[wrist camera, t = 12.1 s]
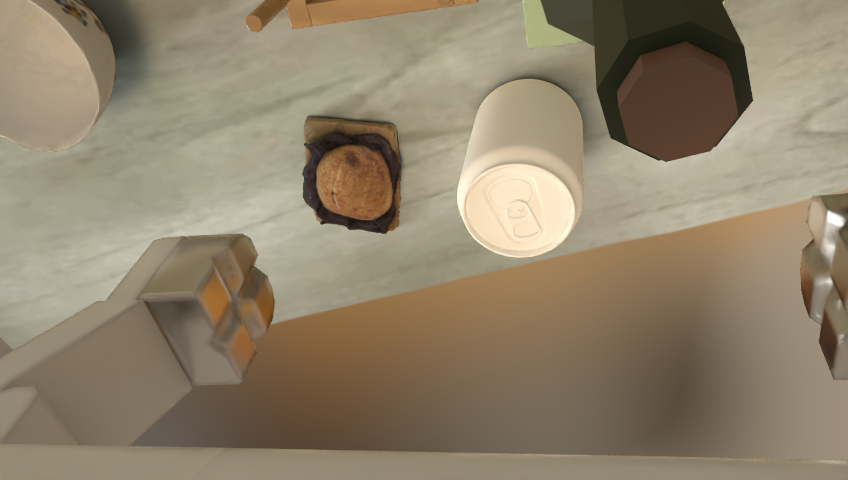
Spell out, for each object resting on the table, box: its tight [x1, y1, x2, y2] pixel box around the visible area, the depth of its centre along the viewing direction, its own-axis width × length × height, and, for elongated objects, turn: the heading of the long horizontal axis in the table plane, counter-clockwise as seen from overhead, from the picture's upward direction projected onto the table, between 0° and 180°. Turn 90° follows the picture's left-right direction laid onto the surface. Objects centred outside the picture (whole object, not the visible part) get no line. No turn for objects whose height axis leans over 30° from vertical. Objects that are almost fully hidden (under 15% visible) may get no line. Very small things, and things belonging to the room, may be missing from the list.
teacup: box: [0, 0, 116, 152], centre depth 52 cm, size 15×12×8 cm
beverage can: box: [457, 79, 584, 257], centre depth 48 cm, size 8×8×12 cm
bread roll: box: [302, 116, 401, 234], centre depth 57 cm, size 11×8×4 cm
